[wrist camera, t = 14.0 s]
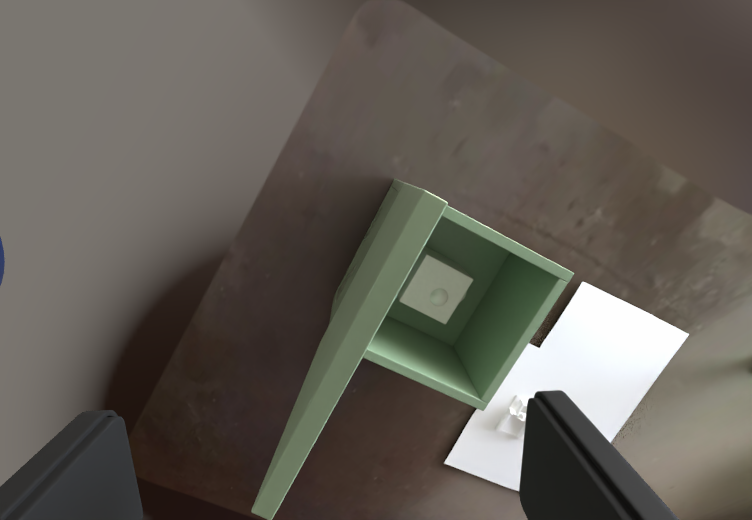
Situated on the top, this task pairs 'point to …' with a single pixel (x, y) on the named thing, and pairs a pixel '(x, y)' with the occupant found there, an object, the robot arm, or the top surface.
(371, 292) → the bin lid
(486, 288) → the trashcan
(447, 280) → the white cube with domes
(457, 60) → the top surface
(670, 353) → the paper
